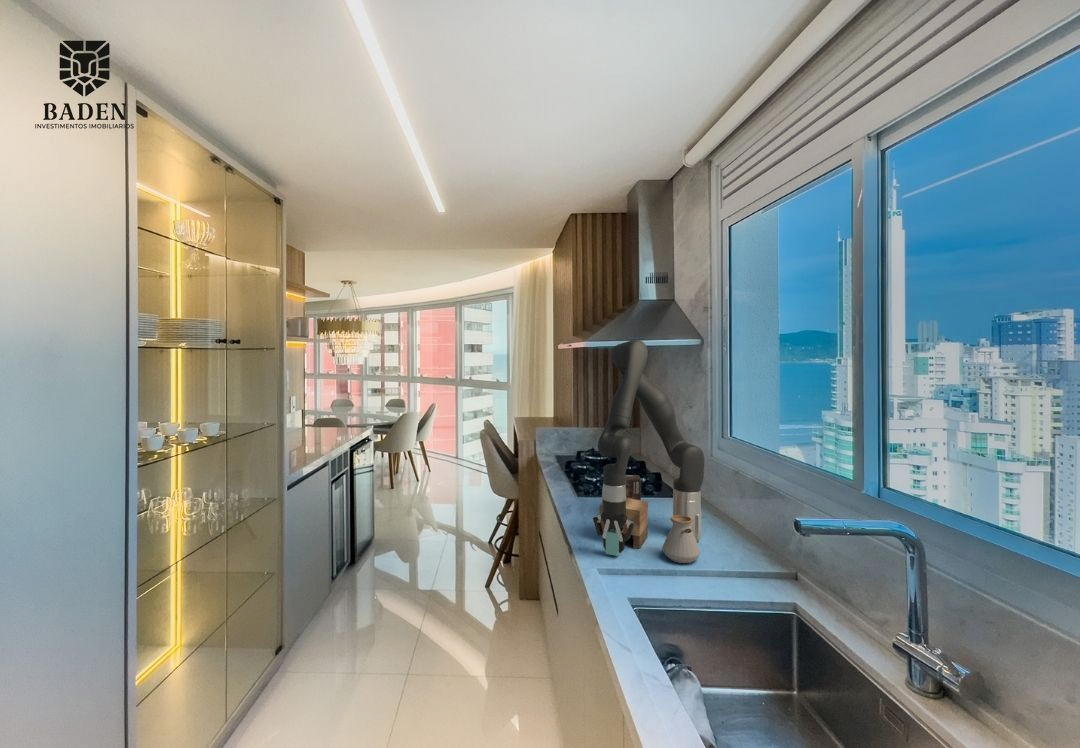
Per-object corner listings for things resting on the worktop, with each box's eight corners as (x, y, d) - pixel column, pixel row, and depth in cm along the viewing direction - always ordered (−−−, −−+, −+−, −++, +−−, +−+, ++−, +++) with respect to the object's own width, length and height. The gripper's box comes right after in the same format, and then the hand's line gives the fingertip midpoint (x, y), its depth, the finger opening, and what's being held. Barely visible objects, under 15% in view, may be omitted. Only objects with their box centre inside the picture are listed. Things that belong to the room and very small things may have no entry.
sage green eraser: (631, 537, 158) (632, 517, 157) (617, 556, 143) (618, 534, 143) (620, 535, 159) (620, 515, 159) (605, 553, 145) (605, 532, 144)
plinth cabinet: (647, 537, 160) (647, 501, 159) (639, 549, 150) (639, 510, 150) (609, 530, 166) (609, 495, 166) (599, 541, 156) (599, 504, 156)
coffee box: (639, 514, 184) (639, 474, 183) (641, 519, 178) (641, 479, 177) (616, 513, 185) (616, 474, 184) (617, 519, 179) (618, 478, 178)
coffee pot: (660, 549, 150) (660, 504, 150) (696, 552, 148) (697, 506, 148) (668, 581, 129) (669, 529, 129) (711, 584, 127) (712, 531, 127)
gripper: (639, 497, 145) (638, 550, 146) (596, 491, 151) (596, 542, 152) (632, 504, 138) (632, 559, 139) (589, 497, 145) (588, 550, 145)
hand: (613, 550), depth 146 cm, fingers closed on sage green eraser, 4 cm apart
